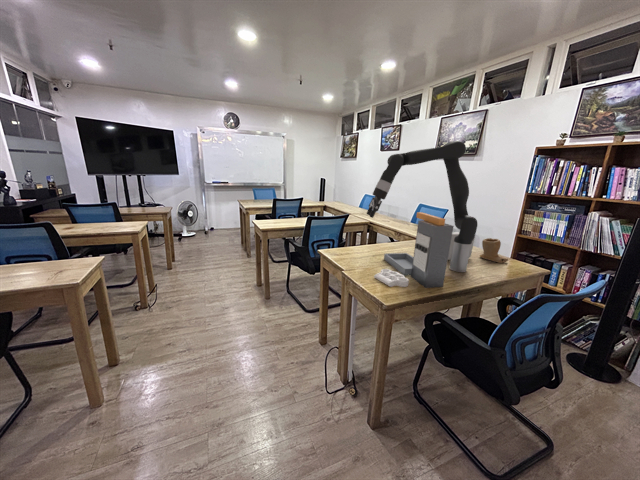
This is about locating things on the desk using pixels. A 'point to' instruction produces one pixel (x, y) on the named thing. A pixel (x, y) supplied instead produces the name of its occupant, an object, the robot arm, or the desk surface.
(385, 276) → the white brass knuckles
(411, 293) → the desk surface
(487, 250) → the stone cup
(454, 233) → the grey angular piece
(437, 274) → the cabinet
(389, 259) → the tray
